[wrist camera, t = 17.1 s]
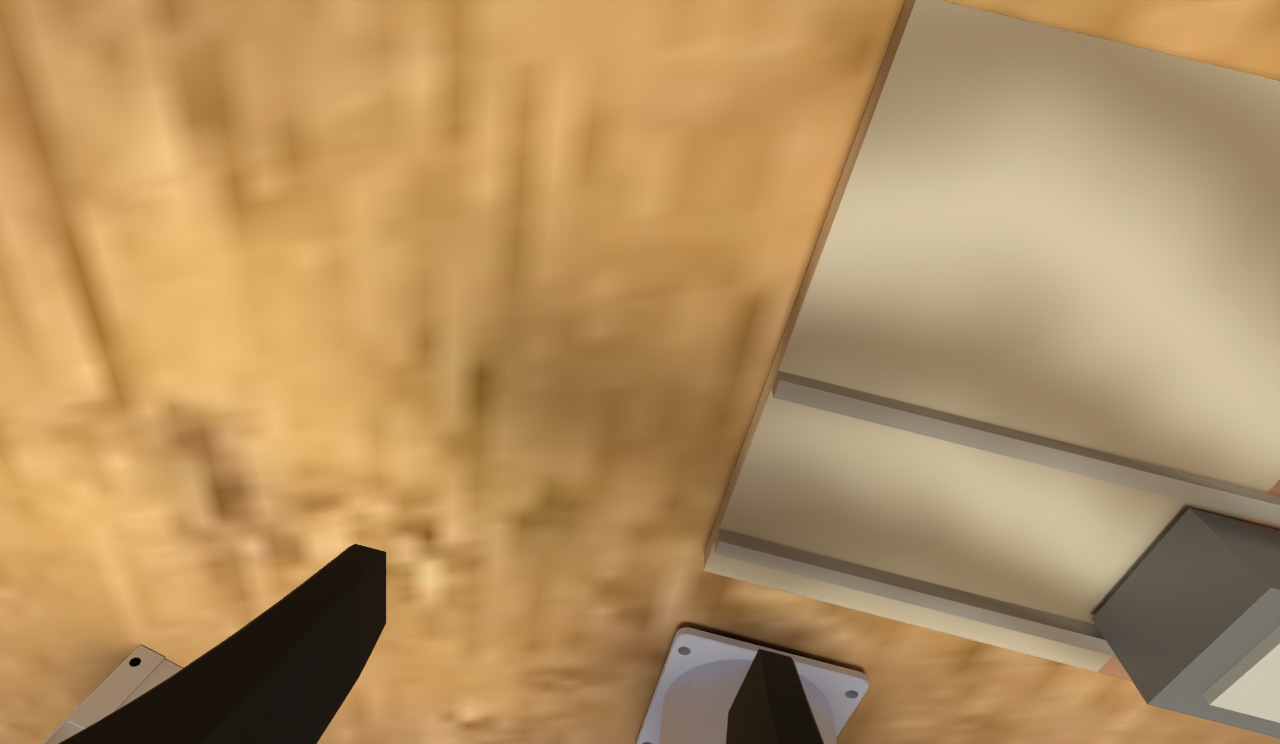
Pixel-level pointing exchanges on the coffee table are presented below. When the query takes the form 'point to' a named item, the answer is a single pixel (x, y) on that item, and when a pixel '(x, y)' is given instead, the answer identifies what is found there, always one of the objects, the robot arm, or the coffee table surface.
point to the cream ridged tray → (1021, 337)
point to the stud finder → (1204, 622)
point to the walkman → (116, 691)
